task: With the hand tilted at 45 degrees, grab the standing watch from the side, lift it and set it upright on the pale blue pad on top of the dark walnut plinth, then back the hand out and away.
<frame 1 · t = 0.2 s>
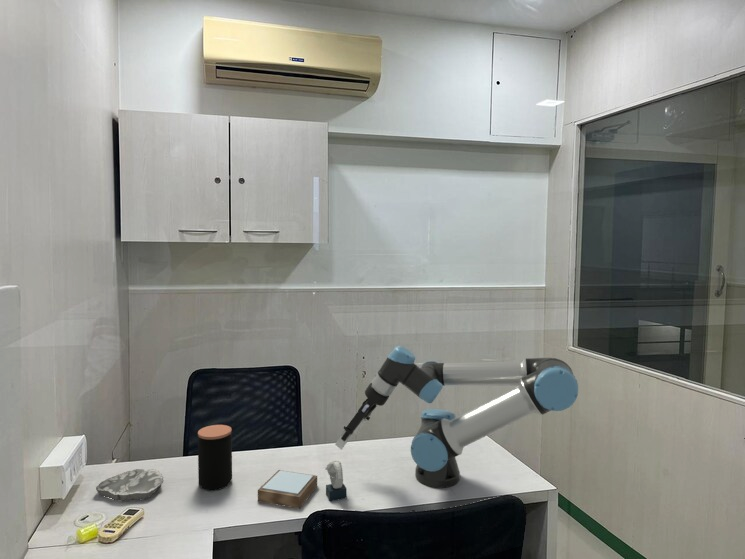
hand: (345, 439, 159), 15 cm above the table, tool tilted 35°, fingers open, 13 cm apart
walnut plinth: (288, 493, 153), on the table
brain slice: (133, 490, 155), on the table
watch: (335, 496, 152), on the table
coffee jar: (215, 484, 159), on the table
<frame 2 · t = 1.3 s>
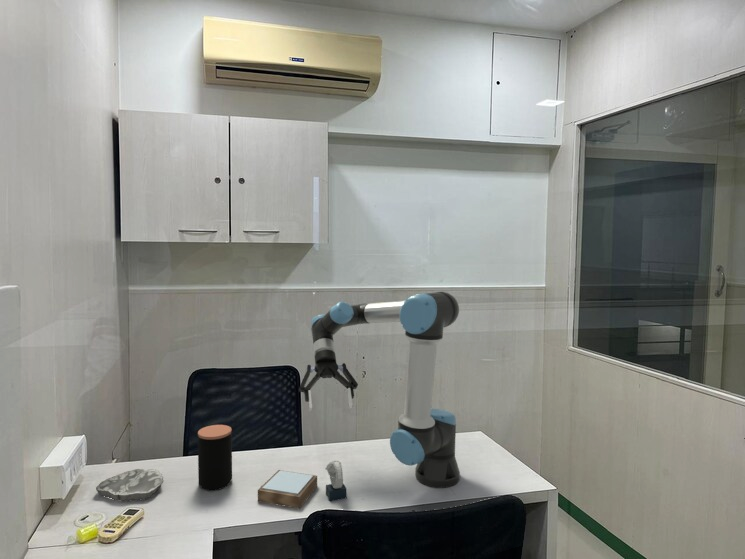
hand: (331, 408, 160), 25 cm above the table, tool tilted 45°, fingers open, 13 cm apart
nothing on the table moved.
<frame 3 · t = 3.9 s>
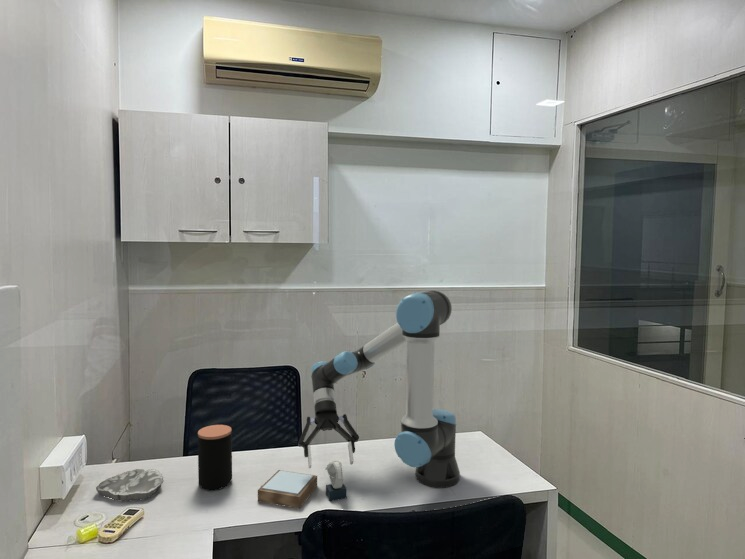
hand: (331, 464, 155), 9 cm above the table, tool tilted 45°, fingers open, 13 cm apart
nothing on the table moved.
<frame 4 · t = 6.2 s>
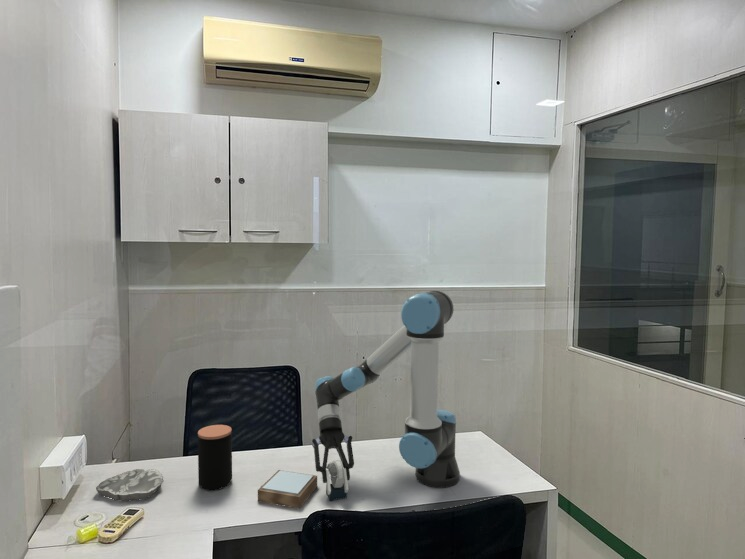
hand: (338, 491, 148), 3 cm above the table, tool tilted 45°, fingers closed on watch, 5 cm apart
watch: (335, 496, 152), on the table, touching gripper
everything else where it was.
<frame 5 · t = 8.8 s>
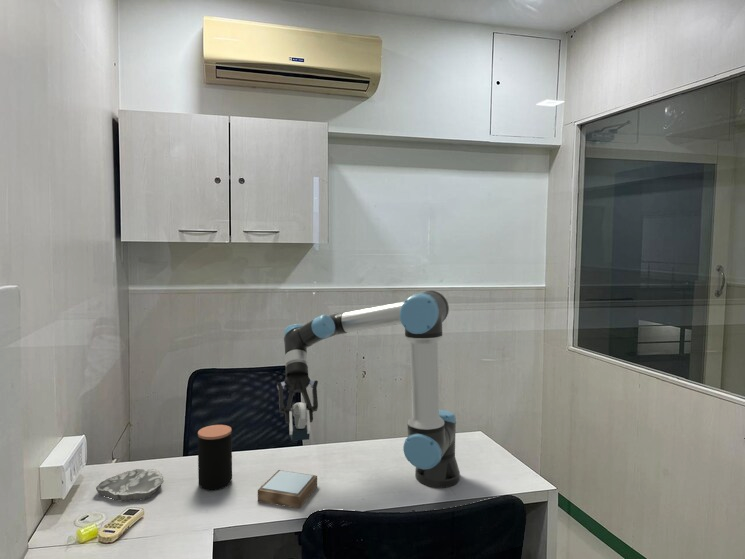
hand: (300, 432, 148), 21 cm above the table, tool tilted 45°, fingers closed on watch, 5 cm apart
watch: (298, 437, 152), point 18 cm above the table, touching gripper
everything else where it was.
when the fingers open (9 cm above the table, at t = 11.5 s): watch drops 1 cm, resting on walnut plinth.
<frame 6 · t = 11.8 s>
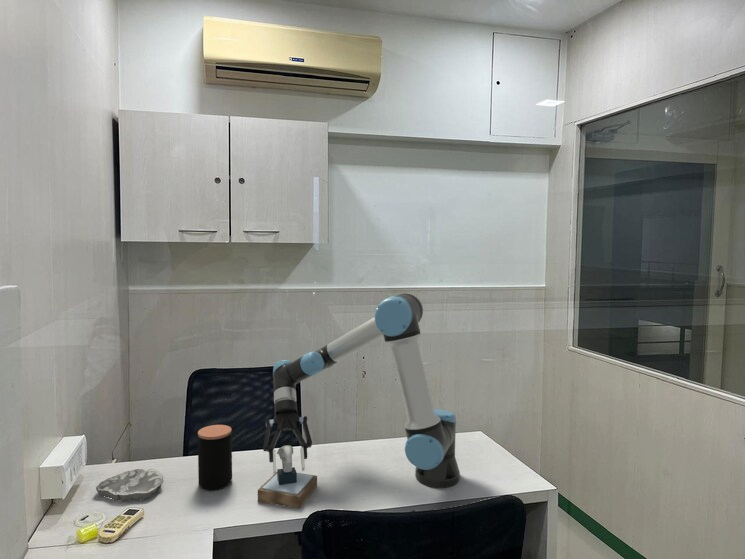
hand: (289, 470, 149), 9 cm above the table, tool tilted 45°, fingers open, 8 cm apart
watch: (286, 481, 153), point 4 cm above the table, touching walnut plinth
everything else where it was.
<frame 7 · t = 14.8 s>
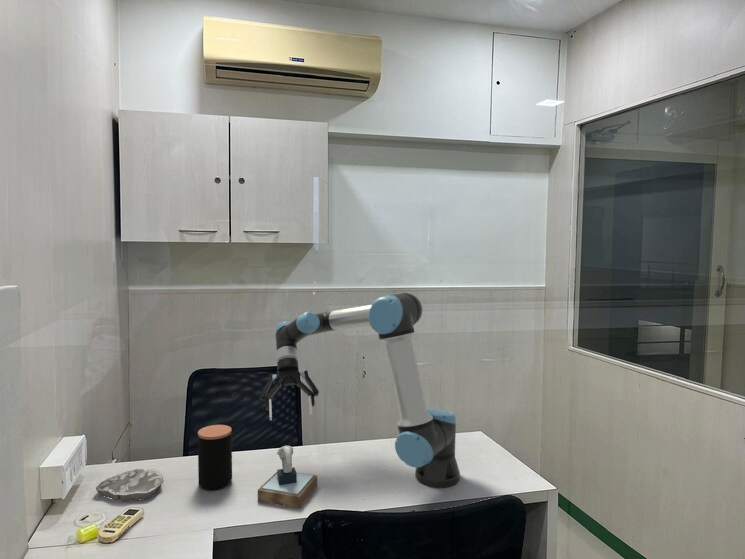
hand: (291, 417, 163), 21 cm above the table, tool tilted 40°, fingers open, 13 cm apart
nothing on the table moved.
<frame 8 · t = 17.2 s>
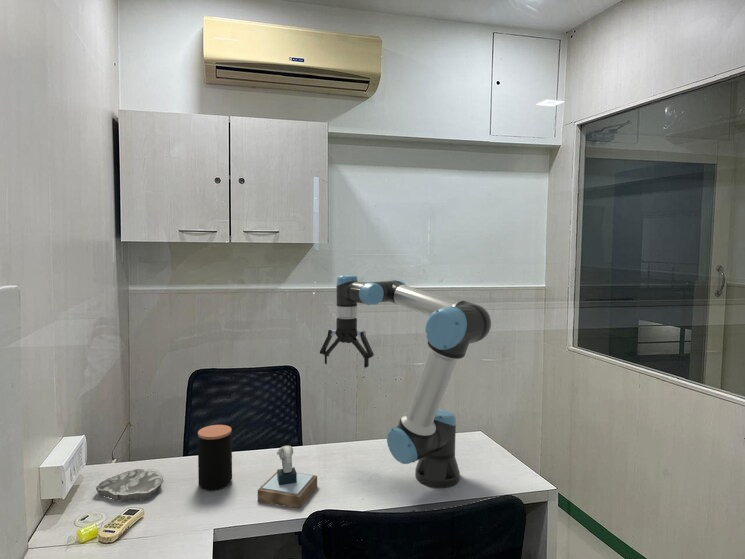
hand: (346, 374, 177), 32 cm above the table, tool pointing down, fingers open, 13 cm apart
nothing on the table moved.
at the end: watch inside the target area on the walnut plinth (0.9 cm from its centre), point 3.8 cm above the walnut plinth's base; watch tilted 0°; the gripper is holding nothing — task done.
